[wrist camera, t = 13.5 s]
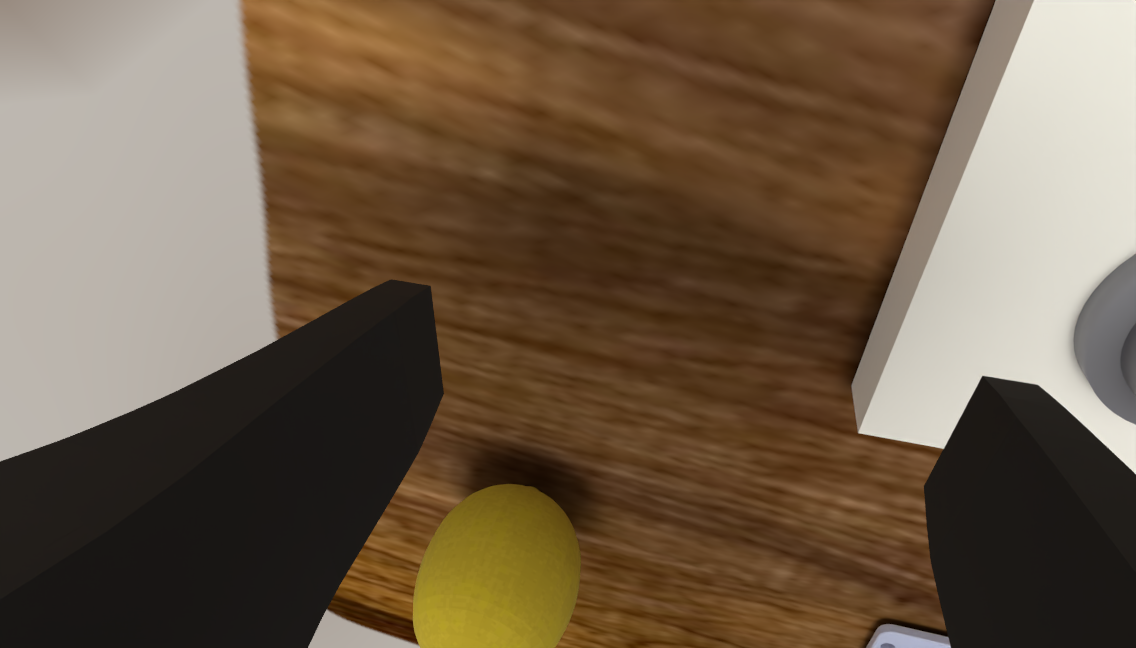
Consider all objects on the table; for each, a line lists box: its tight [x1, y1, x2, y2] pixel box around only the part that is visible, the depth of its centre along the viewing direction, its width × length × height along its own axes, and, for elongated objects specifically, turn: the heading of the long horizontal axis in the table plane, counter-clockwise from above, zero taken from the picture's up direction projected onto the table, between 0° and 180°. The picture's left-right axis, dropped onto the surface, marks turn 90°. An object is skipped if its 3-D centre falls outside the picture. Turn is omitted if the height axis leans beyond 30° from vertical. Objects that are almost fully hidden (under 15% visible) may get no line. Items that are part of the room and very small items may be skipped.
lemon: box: [413, 484, 581, 648], centre depth 23 cm, size 6×6×8 cm
